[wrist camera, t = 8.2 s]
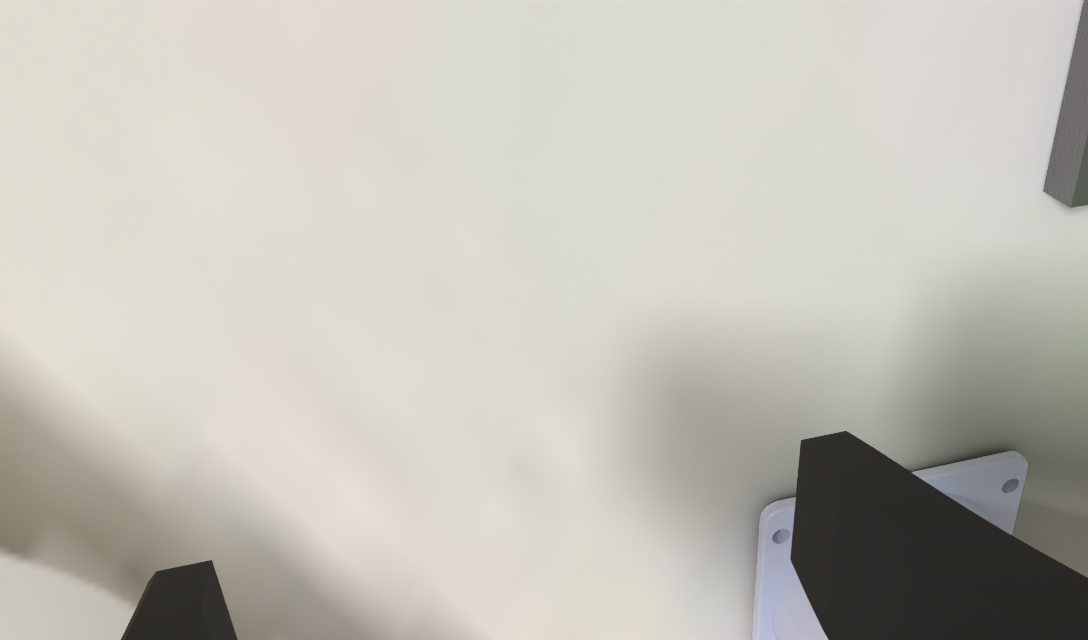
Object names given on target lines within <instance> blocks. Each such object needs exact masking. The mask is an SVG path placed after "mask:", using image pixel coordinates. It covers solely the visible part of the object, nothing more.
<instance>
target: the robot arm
mask: <svg viewBox="0 0 1088 640" xmlns="http://www.w3.org/2000/svg"><path fill="white" fill-rule="evenodd" d="M1027 472H1028V461H1027V460H1026V459H1025V458H1024V457H1023V456H1022V455H1021V454H1020V453H1019V452H1017V451H1007V452H1003V453H998V454H993V455H989V456H984V457H979V458H975V459H970V460H965V461H961V462H956V463H951V464H947V465H942V466H937V467H933V468H928V469H923V470H919V471H914V472H910V471H908V470H907V469H905V468H904V467H902V466H901V465H899V464H898V463H896V462H894V461H893V460H891V459H890V458H888V457H887V456H885V455H884V454H882V453H881V452H879V451H877V450H876V449H874V448H873V447H871V446H870V445H868V444H866V443H865V442H863V441H862V440H860V439H858V438H857V437H855V436H854V435H852V434H850V433H849V432H847V431H844V432H839V433H834V434H829V435H824V436H819V437H814V438H809V439H805V440H801V447H800V457H799V468H798V479H797V490H796V497H793V498H788V499H783V500H779V501H775V502H773V503H770V504H769V505H768V506H766V507H765V509H764V510H763V511H762V512H761V516H760V522H759V537H758V552H757V567H756V583H755V598H754V613H753V629H752V640H1088V578H1087V577H1085V576H1083V575H1081V574H1080V573H1078V572H1076V571H1074V570H1072V569H1070V568H1069V567H1067V566H1065V565H1063V564H1061V563H1060V562H1058V561H1056V560H1054V559H1052V558H1051V557H1049V556H1047V555H1045V554H1043V553H1041V552H1040V551H1038V550H1036V549H1034V548H1033V547H1031V546H1029V545H1027V544H1026V543H1024V542H1022V541H1021V540H1019V539H1017V538H1015V537H1014V536H1012V533H1013V529H1014V525H1015V521H1016V517H1017V513H1018V509H1019V504H1020V500H1021V496H1022V492H1023V488H1024V484H1025V480H1026V476H1027ZM781 529H782V530H781ZM779 530H781V531H780V532H778V533H776V532H777V531H779ZM775 533H776V534H775ZM121 640H237V637H236V634H235V631H234V627H233V624H232V621H231V618H230V615H229V612H228V609H227V606H226V603H225V600H224V597H223V593H222V590H221V587H220V584H219V581H218V578H217V575H216V572H215V569H214V566H213V562H212V560H210V561H205V562H200V563H196V564H191V565H186V566H181V567H176V568H171V569H166V570H161V571H157V572H156V573H155V574H154V575H153V577H152V578H151V579H150V580H149V582H148V584H147V586H146V588H145V590H144V593H143V595H142V597H141V599H140V601H139V603H138V605H137V608H136V610H135V612H134V614H133V616H132V618H131V620H130V622H129V624H128V626H127V628H126V630H125V633H124V635H123V636H122V639H121Z"/></svg>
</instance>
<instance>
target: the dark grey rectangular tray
mask: <svg viewBox="0 0 1088 640" xmlns="http://www.w3.org/2000/svg"><path fill="white" fill-rule="evenodd" d="M1043 191H1044V192H1046V193H1048V194H1049V195H1051V196H1053V197H1054V198H1056V199H1057V200H1059V201H1061V202H1062V203H1064V204H1066V205H1067V206H1069V207H1077V206H1083V205H1088V0H1084V3H1083V8H1082V12H1081V17H1080V22H1079V26H1078V31H1077V36H1076V40H1075V45H1074V50H1073V54H1072V59H1071V64H1070V68H1069V73H1068V78H1067V82H1066V87H1065V92H1064V96H1063V101H1062V106H1061V110H1060V115H1059V120H1058V124H1057V129H1056V134H1055V138H1054V143H1053V148H1052V152H1051V157H1050V162H1049V166H1048V171H1047V176H1046V181H1045V185H1044V190H1043Z"/></svg>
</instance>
